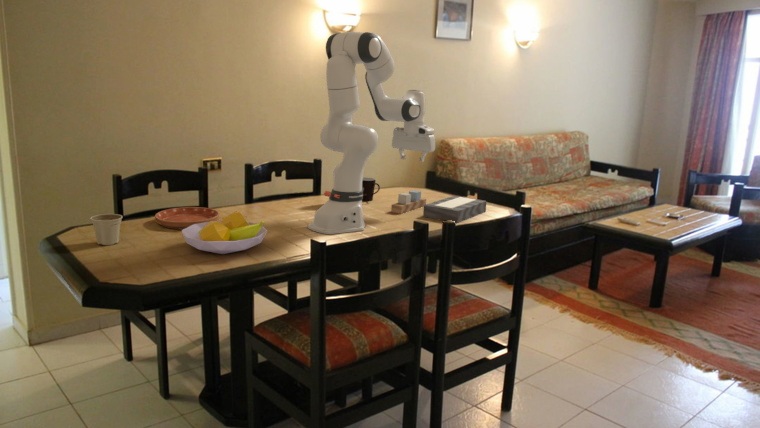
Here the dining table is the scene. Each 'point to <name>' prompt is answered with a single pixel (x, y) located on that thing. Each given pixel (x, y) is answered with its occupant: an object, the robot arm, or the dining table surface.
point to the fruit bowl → (225, 234)
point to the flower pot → (107, 228)
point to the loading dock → (454, 208)
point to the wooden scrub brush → (407, 206)
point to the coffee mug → (368, 188)
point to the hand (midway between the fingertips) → (412, 160)
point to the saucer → (185, 216)
